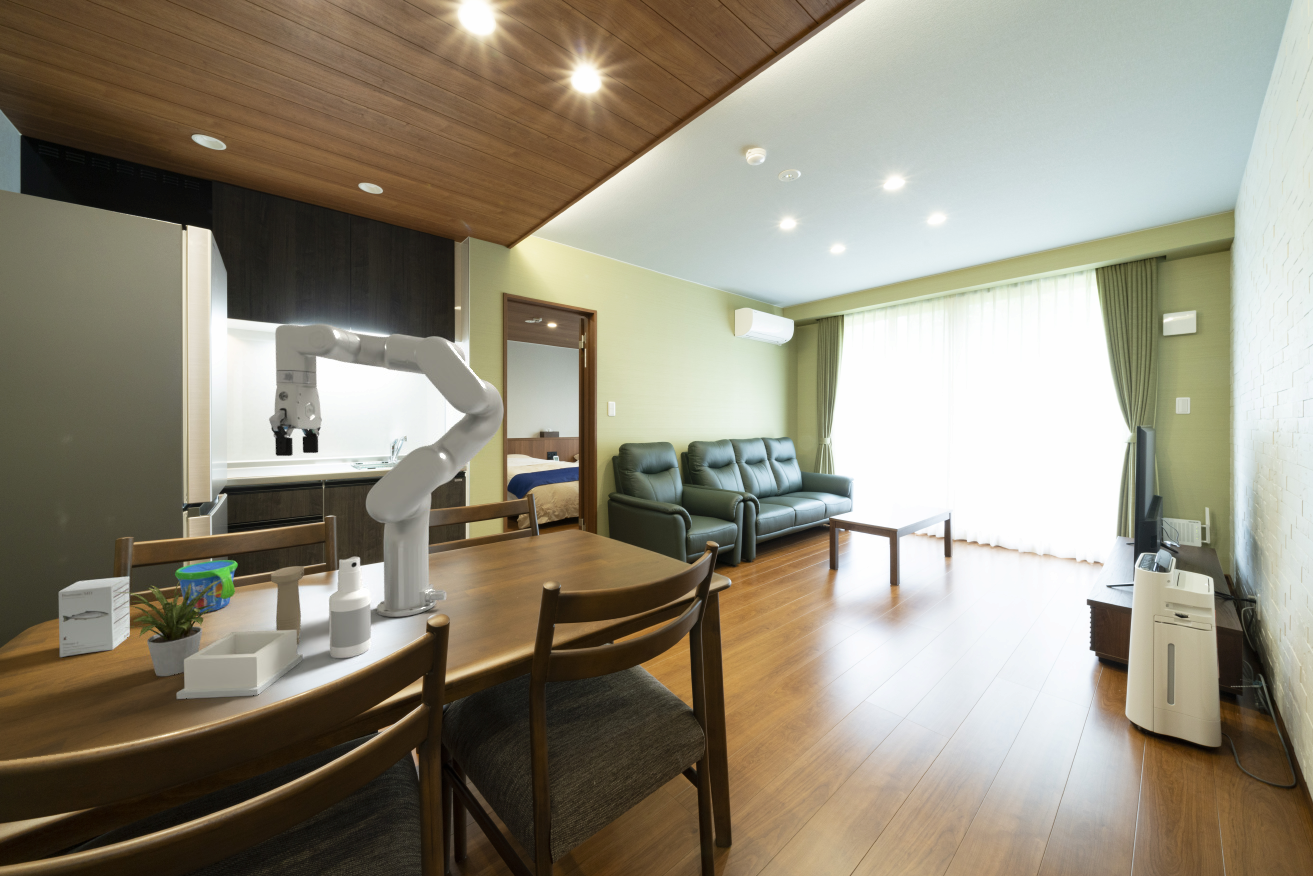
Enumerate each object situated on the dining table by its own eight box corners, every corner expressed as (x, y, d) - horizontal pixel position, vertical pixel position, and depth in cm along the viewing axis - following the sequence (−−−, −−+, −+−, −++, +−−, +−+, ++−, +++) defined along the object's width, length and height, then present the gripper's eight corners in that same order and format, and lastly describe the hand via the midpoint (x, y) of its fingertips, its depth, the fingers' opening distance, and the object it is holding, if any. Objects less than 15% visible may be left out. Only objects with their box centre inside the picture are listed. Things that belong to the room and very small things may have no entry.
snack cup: (163, 610, 114) (162, 567, 114) (219, 595, 124) (218, 556, 123) (194, 623, 107) (193, 577, 107) (251, 607, 117) (251, 564, 116)
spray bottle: (340, 662, 91) (339, 566, 90) (322, 653, 94) (321, 560, 94) (378, 648, 96) (377, 557, 96) (359, 639, 100) (358, 552, 99)
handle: (309, 637, 101) (308, 565, 100) (296, 652, 95) (294, 575, 94) (282, 640, 99) (280, 567, 99) (266, 655, 93) (265, 577, 93)
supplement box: (57, 658, 91) (55, 591, 91) (80, 642, 98) (78, 580, 97) (113, 650, 95) (111, 585, 94) (132, 635, 101) (130, 574, 101)
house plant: (83, 701, 78) (80, 599, 77) (134, 661, 90) (131, 573, 90) (199, 682, 83) (197, 587, 83) (231, 647, 96) (230, 565, 95)
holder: (302, 659, 92) (302, 627, 91) (257, 695, 80) (256, 659, 80) (233, 662, 90) (232, 630, 90) (176, 698, 78) (175, 662, 78)
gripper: (290, 377, 105) (291, 457, 105) (334, 383, 122) (335, 451, 123) (252, 376, 104) (253, 457, 105) (302, 382, 121) (303, 451, 122)
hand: (297, 454), depth 114 cm, fingers open, 9 cm apart
